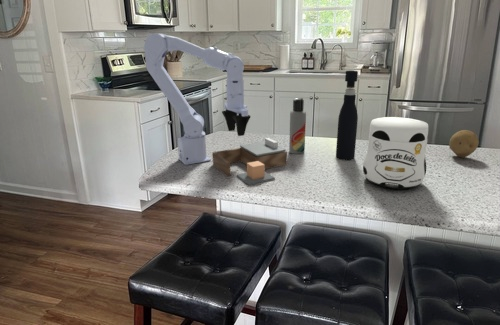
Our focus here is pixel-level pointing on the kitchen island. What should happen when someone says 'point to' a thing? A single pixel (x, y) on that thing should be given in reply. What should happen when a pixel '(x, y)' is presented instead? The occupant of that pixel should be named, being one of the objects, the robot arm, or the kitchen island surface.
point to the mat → (251, 181)
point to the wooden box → (246, 159)
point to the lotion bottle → (297, 127)
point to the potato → (463, 143)
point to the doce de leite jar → (396, 152)
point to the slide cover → (263, 147)
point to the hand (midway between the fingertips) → (236, 132)
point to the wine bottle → (347, 121)
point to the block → (255, 170)
